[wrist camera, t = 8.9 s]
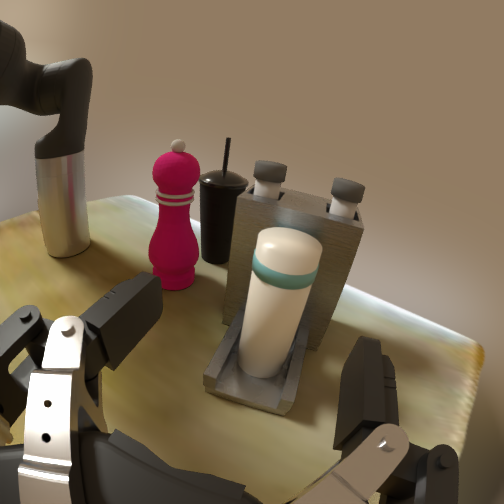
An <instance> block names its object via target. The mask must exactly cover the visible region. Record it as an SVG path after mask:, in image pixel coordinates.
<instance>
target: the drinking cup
mask: <svg viewBox="0 0 504 504" xmlns="http://www.w3.org/2000/svg"><path fill="white" fill-rule="evenodd" d="M230 142H231V138H226V145H225V153H224V161H223V169H222V170H216V171H211V172H208V173H206V174H202V175H200V177H199V180H198V181H199V182H200V223H201V253H202V258H203V259H204V260H205V261H206V262H209V263H212V264H222V263H225V262H227V261H228V260H229V258H230V250H231V242H232V233H233V225H234V217H235V210H236V202H237V197H238V196H239V195H240V194H242V193H243V192H244V191H245V189H246V187H247V186H248V181H247V179H245V178H243V177H241V176H240V175H238V174H236V173H234V172H230V171H227V165H228V157H229V149H230Z"/></svg>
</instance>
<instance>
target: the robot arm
mask: <svg viewBox="0 0 504 504" xmlns="http://www.w3.org/2000/svg"><path fill="white" fill-rule="evenodd" d="M92 78H93V75H92V67H91V64H90V62H89V61H88V60H87V59H85V58H76V59H71V60H66V61H61V62H57V63H52V64H47V65H39V64H35V63H32V62H30V61H28V60H26V48H25V42H24V39H23V37H22V35H21V34H20V33H19V32H18V31H17V30H16V29H15V28H14V27H12V26H10V25H8V24H7V23H5V22H3V21H1V20H0V105H9V106H13V107H16V108H19V109H22V110H24V111H27V112H29V113H32V114H35V115H40V116H46V115H54V114H60V117H59V121H58V124H57V126H56V127H55V128H54V129H53V130H52V131H51V132H50V133H48V134H47V135H45V136H44V137H42V138H40V139H39V140H38V141H37V142H36V144H35V167H36V179H37V191H38V208H39V215H40V222H41V227H42V233H43V238H44V243H45V246H46V248H47V252H48V253H49V254H50V255H51V256H54V257H69V256H73V255H76V254H78V253H80V252H82V251H84V250H85V249H86V248H87V247H88V246H89V245H90V234H89V226H88V216H87V205H86V192H85V167H84V142H85V135H86V129H87V118H88V109H89V102H90V95H91V88H92ZM162 310H163V301H162V285H161V279H160V277H158V276H156V275H153V274H150V273H147V272H144V271H143V272H141V273H139V274H138V275H137V276H136V277H134V278H133V279H132V280H131V279H128V280H126V281H123V282H121V283H119V284H117V285H116V286H115V287H114V288H113V289H111V290H110V292H108V293H106V294H105V295H104V297H102V298H100V299H99V300H98V301H97V302H96V303H95V304H93V305H92V306H91V307H90V308H89V309H87V310H86V311H85V312H84V313H83V314H82V315H81V316H79V317H75V316H64V317H61V318H59V319H58V320H56V321H52V320H48V319H44V318H42V316H41V314H40V311H39V309H38V308H37V307H36V306H34V305H26V306H23V307H21V308H19V309H18V310H17V311H15V312H14V313H13V314H12V315H11V316H10V317H9V318H7V319H6V320H5V321H4V322H3V323H2V324H1V325H0V504H263V503H261V502H260V501H259V500H258V499H257V498H255V497H254V496H252V495H251V494H249V493H247V492H245V491H244V489H245V487H246V485H242V484H239V483H235V482H232V481H229V480H226V479H223V478H220V477H217V476H214V475H211V474H204V473H198V472H192V471H186V470H181V469H176V468H173V467H171V466H169V465H168V464H166V463H165V462H164V461H163V460H161V459H160V458H159V457H158V456H156V455H155V454H154V453H153V452H151V451H150V450H149V449H148V448H147V447H146V446H144V445H143V444H141V443H139V442H138V441H136V440H134V439H132V438H131V437H129V436H127V435H125V434H124V433H122V432H120V431H119V430H117V429H115V430H114V432H113V433H112V434H110V433H108V429H107V425H106V421H105V419H104V415H103V407H102V372H101V369H102V368H103V367H104V366H106V367H108V368H110V369H111V370H113V371H114V370H115V369H116V368H117V367H118V366H119V364H120V363H121V362H122V361H123V360H124V359H125V357H126V356H127V355H128V354H129V353H130V352H131V350H132V349H133V348H134V347H135V346H136V345H137V344H138V342H139V341H140V340H141V339H142V338H143V337H144V336H145V334H146V333H147V332H148V331H149V330H150V329H151V328H152V326H153V325H154V324H155V323H156V322H157V321H158V319H159V318H160V316H161V313H162ZM24 348H26V350H27V352H28V354H29V355H28V356H27V357H26V359H25V360H24V361H23V362H22V363H21V364H20V365H19V366H18V367H17V368H16V369H15V370H14V372H13V373H12V374H9V372H8V366H9V364H10V362H11V361H12V360H13V359H14V358H15V357H16V356H17V355H18V354H19V353H20V352H21V351H22V350H23V349H24ZM26 407H27V409H26V420H25V434H24V444H17V445H9V446H5V444H6V443H7V444H10V443H11V442H12V441H13V436H12V434H11V433H10V428H11V426H12V425H13V424H14V422H15V421H16V420H17V418H18V417H19V416H20V415H21V413H22V412H23V411H24V409H25V408H26ZM333 450H341V451H342V455H341V459H340V460H338V461H337V462H336V463H335V464H334V465H333V466H332V467H330V468H329V469H328V470H327V471H326V472H324V473H323V474H322V475H321V476H320V477H318V478H317V479H316V480H315V481H313V482H312V483H311V484H309V485H308V486H307V487H305V488H304V489H303V490H301V491H300V492H298V493H297V494H295V495H294V496H292V497H291V498H289V499H288V500H286V501H285V502H283V503H282V504H369V503H368V500H369V498H370V497H371V496H372V495H373V494H374V493H375V491H376V492H379V493H381V494H380V500H379V504H458V482H459V481H458V479H459V478H458V476H459V469H458V456H457V454H456V452H455V450H454V449H453V448H452V447H450V446H448V445H444V444H441V445H437V446H435V447H434V448H433V449H431V450H428V449H425V448H422V447H420V446H417V445H414V444H412V443H410V442H409V438H408V436H407V434H406V432H405V431H404V430H403V429H402V428H401V427H399V418H398V402H397V390H396V381H395V370H394V366H393V364H392V362H391V360H390V358H389V357H388V356H386V355H382V353H381V344H380V341H379V340H377V339H372V338H368V337H363V336H360V337H359V339H358V340H357V342H356V344H355V346H354V348H353V350H352V351H351V353H350V355H349V357H348V359H347V360H346V362H345V364H344V367H343V370H342V374H341V383H340V394H339V404H338V414H337V422H336V430H335V437H334V444H333Z"/></svg>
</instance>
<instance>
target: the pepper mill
mask: <svg viewBox="0 0 504 504" xmlns="http://www.w3.org/2000/svg"><path fill="white" fill-rule="evenodd" d="M171 149H172V152H168V153H165V154H163V155H161V156H160V157H159V158H158V159H157V160H156V162H155V164H154V167H153V172H152V174H153V180H154V182H155V183H156V184H157V186H158V187H159V188H158V189H157V190H156V194H157V195H156V201H157V202H158V203H159V219H158V223H157V227H156V229H155V232H154V234H153V236H152V238H151V241H150V244H149V255H148V256H149V260H150V262H151V263H152V264H153V266H154V267H153V275H156V276H158V277H160V279H161V285H162V288H163V289H166V290H181V289H185V288H187V287H189V286H190V285H191V284H192V283H193V281H194V278H195V268H194V265H195V264H196V262H197V260H198V257H199V247H198V243H197V239H196V237H195V234H194V232H193V230H192V227H191V223H190V215H189V209H190V203H192V202H193V201H194V197H193V196H194V193H195V191H194V190H193V189H192V187H193V186H194V185H195V184H196V183H197V181H198V180H199V177H200V166H199V163H198V161H197V159H196V158H195V157H193V156H192V155H191V154H189V153H186V152H183V151H184V149H185V143H184V141H182V140H180V139H177V140H175V141H173V142H172V144H171Z"/></svg>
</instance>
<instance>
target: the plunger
mask: <svg viewBox="0 0 504 504" xmlns="http://www.w3.org/2000/svg"><path fill="white" fill-rule="evenodd" d="M286 171H287V166H286V165H283V164H280V163H276V162H271V161H256V163H255V169H254V177H255V178H256V182H255V188H254V195H258V196H262V197H266V198H271V199H275V200H278V198H279V192H280V187H281V182H284V181H285V176H286Z"/></svg>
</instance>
